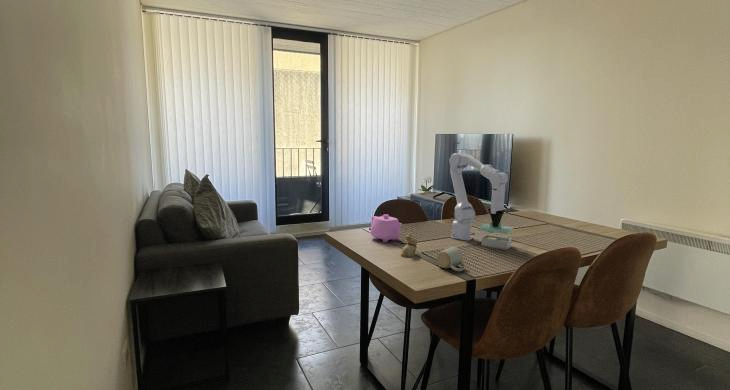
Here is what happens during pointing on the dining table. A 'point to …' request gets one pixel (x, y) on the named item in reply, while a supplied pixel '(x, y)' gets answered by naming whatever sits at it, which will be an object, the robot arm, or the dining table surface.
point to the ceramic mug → (450, 258)
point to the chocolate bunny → (409, 246)
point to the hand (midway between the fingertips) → (495, 226)
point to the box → (496, 242)
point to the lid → (495, 228)
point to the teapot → (385, 228)
